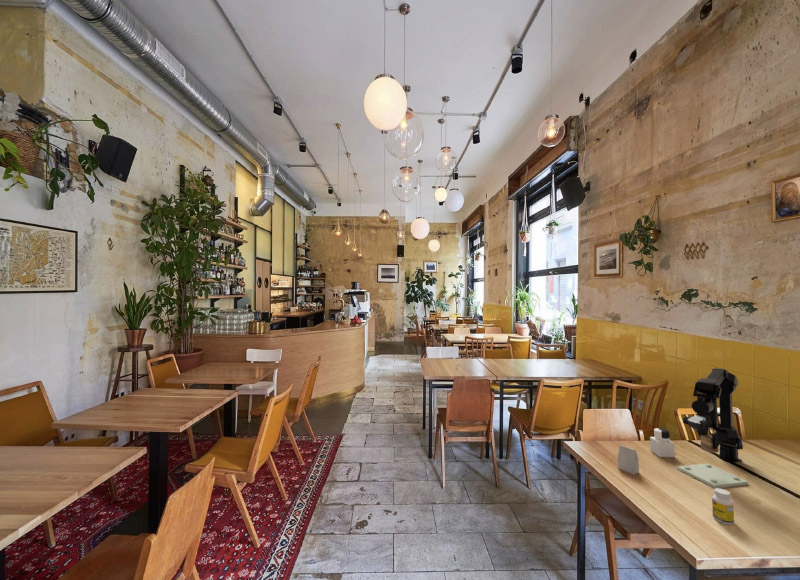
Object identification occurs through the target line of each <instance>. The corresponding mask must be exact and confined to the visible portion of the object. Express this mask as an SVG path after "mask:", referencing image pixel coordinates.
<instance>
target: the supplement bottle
mask: <svg viewBox="0 0 800 580" xmlns="http://www.w3.org/2000/svg"><path fill="white" fill-rule="evenodd" d="M713 490H714V494H713V495H712V497H711V500H712V501H711V502H712V516H713V519H714V520H716V521H717V522H719V523H722V524H724V525H733V524H734V523H735V513H734V511H735V510H734V509H735V506H734V500H732V499H731V493H730V492H729V490H726V489H723V488H714V489H713Z"/></svg>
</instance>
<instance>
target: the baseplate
mask: <svg viewBox="0 0 800 580" xmlns="http://www.w3.org/2000/svg"><path fill="white" fill-rule="evenodd" d="M676 469H677V470H678V471H681V472H682V473H684V474H686V475H688V476H690V477H691V478H694V479H696V480H698V481H700V482H701V483H704V484H706V485H707V486H710V487H711V488H714V489H715V488H720V489H723V488H730V487H738V486H739V485H740V486H746V485H747V486H748V485H749V481H747V480H745V479H744V478H741V477H739V476H736V475H735V474H732V473H729V472H727V471H726V470H723V469H721V468H719V467H716V466H715V465H712V464H710V463H697V464H689V465H679V466H677V467H676Z"/></svg>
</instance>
